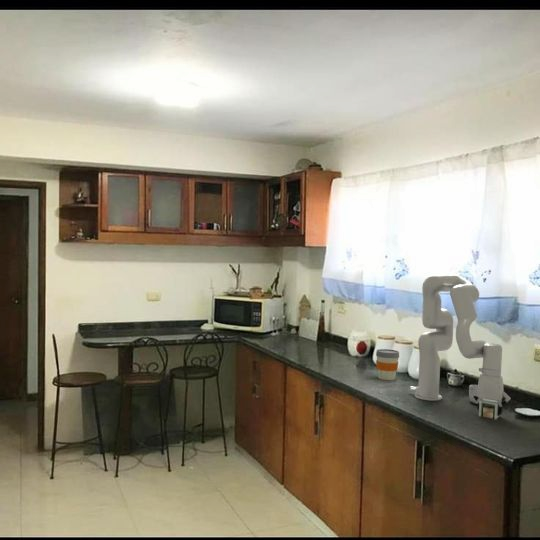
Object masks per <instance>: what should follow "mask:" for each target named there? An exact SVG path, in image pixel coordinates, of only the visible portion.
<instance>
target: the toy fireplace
mask: <svg viewBox="0 0 540 540" xmlns="http://www.w3.org/2000/svg"><path fill="white" fill-rule="evenodd" d="M485 406H490V407H495V416H494V418H493V419H494V420H497V419H499V417H500V416H498V415H497V414H498V406H499V404H498V402H497V401H495V400H489V399H482V400H481V401H480V402H479V412H478V417H483V407H485Z"/></svg>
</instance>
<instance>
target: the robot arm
mask: <svg viewBox="0 0 540 540" xmlns="http://www.w3.org/2000/svg"><path fill="white" fill-rule="evenodd" d="M421 287H422V318H421V319H422V320H421V321H422V325H423V327H424V328H426V329H429V330H435V331H426V332H423V333H421V334H420V336H419V338H418V341H417V343H418V351H419V369H418V384H417V385H418V386H412V385H410V386H409V390H410V391H411V392H414V397H415V398H416V399H419V400H422V401H428V402H429V401H431V402H437V401H441V400H443V396H442V395H441V394H439V391H440V376H441V375H440V374H441V372H440V371H441V359H440V355H439V353H438V352H443V351H444V352H445V351H448V350H449V349H450V348H451V347H452V345H453V340H454V338H453V337H454V317H453V314H452V313H451V311H449V309H446V308H442V299H441V295H440V292H441V293H443V292H445V293H448V292H449V296H450V299H451V303H452V305H453V309H454V313H455V316H456V318H457V325H456V326H455V327H456V329H455V341H456V344H457V346H458V350H459V352H460V354H461V355H462V356H463V357H464V358H465V359H470V360H471V359H472V360H473V359H481V358H482V367H479V368H478V372H480V373H481V374H479V377H478V383H477V385H478V388H477V389H475V390H473V391H472V392H471V394H472V396H473V397H474V399H475V400H476V401H477V403H478V404H477V407H476V409H477V412H478V413H479V402H480V401H481V400H482V399H489V400H495V401H497V402H498V404H499V406H498V414H497V415H498V416H499V417H500V416H501V415H502V414H503V406H504V405H506V404H507V403H508V402H509V401H510V400H511V397H510V396H509V395H508V394H507V393H506V392H505V391H504V380H503V376H502V362H503V359H502V358H503V347H502V345H501V344H498V343H493V342H492V343H491V342H489V341H485V340H472V338H471V334H470V328H471V326H472V324H473V323H474V321H476V320H477V319H478V314H477V310H476V308H475V306H474V303H475V302H477V301H478V300H479V298H480V291H479V289H478V288H477V287H476V286H475V285H474V284H473V283H471V282H470V281H468V280H467V279H465V278H463V277H461V276H460V275H458V274H454V273H434V274H430V275H428V276H427V277H426V278H424V281H423V283H422V286H421ZM476 392H477V395H476V394H475V393H476ZM478 397H479V398H478ZM503 398H505V399H504V400H503V401H502V399H503Z"/></svg>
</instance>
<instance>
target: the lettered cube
mask: <svg viewBox="0 0 540 540" xmlns="http://www.w3.org/2000/svg"><path fill="white" fill-rule="evenodd" d="M494 416H495V407H490V406H485V407H483V415H482V417H483V418H488V419H494Z"/></svg>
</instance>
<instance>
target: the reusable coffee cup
mask: <svg viewBox="0 0 540 540" xmlns="http://www.w3.org/2000/svg"><path fill="white" fill-rule="evenodd" d="M375 356H376V360H375V362H376V363H375V364H376V369H377V377H378V380H379V379H380V380H383V381H394V380H395V379H396V374H397V371H398V367H399V358H400V351H399V350H396V349H395V350H394V349H387V348H386V349H385V348H384V349H383V348H382V349H377V350H376V353H375Z"/></svg>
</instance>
